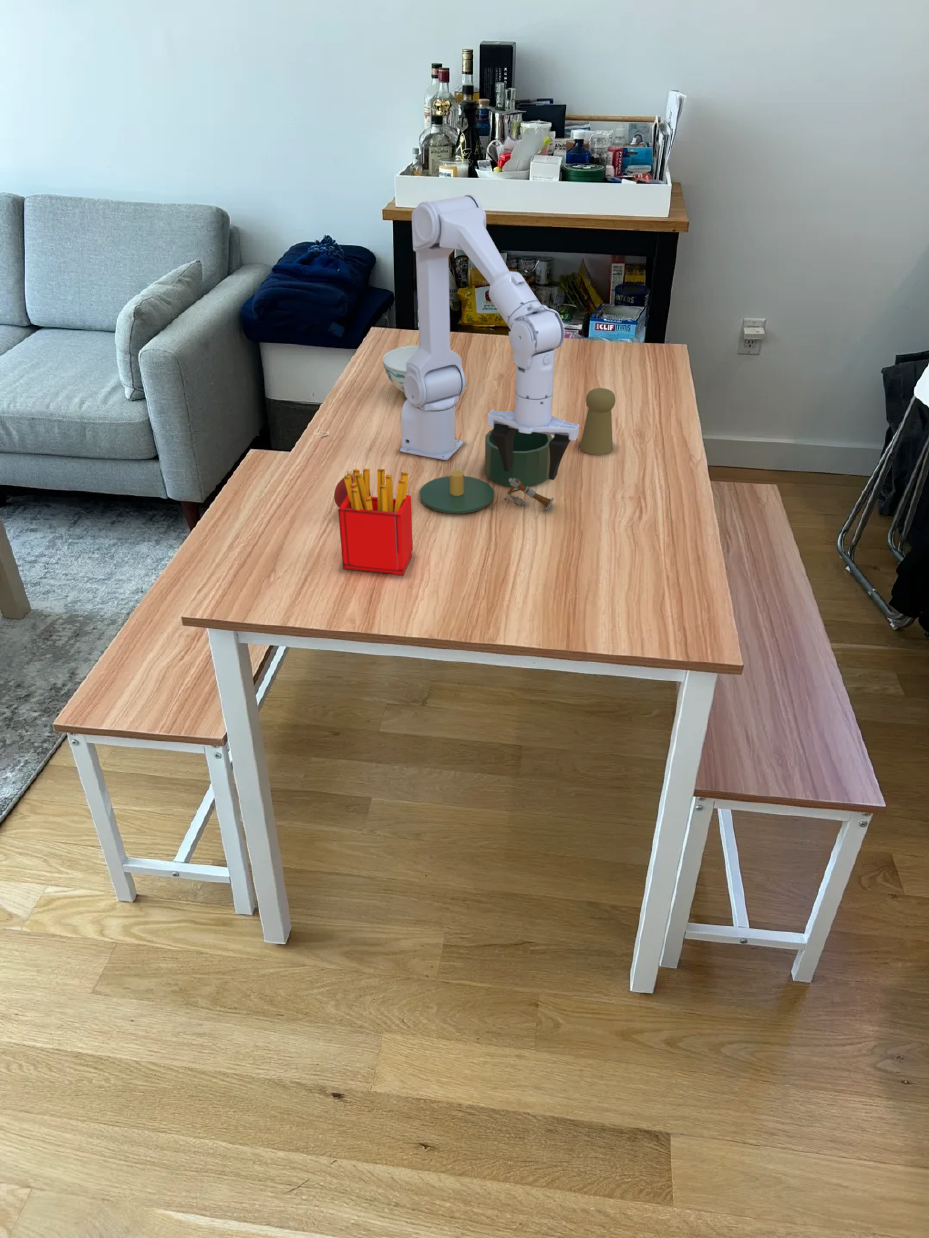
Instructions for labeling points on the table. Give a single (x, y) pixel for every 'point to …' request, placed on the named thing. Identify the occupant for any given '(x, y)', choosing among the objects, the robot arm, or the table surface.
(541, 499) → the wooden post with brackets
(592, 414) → the olive game pawn
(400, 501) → the french fries container
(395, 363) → the chinaware
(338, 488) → the onion
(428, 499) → the lid
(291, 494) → the table surface
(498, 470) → the tin
